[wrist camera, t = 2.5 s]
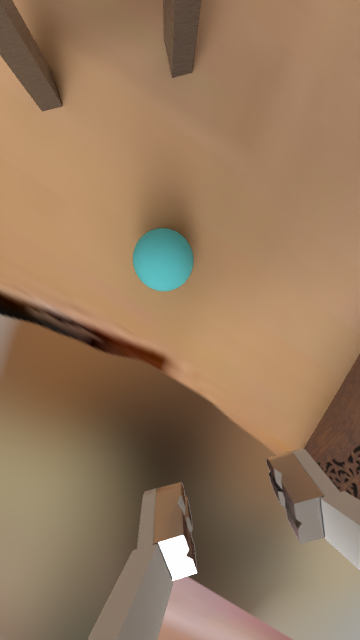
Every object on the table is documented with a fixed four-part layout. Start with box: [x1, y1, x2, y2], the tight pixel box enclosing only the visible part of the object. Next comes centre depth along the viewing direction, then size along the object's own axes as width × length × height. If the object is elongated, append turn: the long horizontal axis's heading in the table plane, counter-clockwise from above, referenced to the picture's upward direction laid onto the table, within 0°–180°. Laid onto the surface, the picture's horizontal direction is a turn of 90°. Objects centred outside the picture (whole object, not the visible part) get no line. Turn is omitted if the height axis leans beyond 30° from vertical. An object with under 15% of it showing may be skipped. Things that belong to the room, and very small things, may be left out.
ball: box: [133, 228, 193, 291], centre depth 19 cm, size 6×6×6 cm
